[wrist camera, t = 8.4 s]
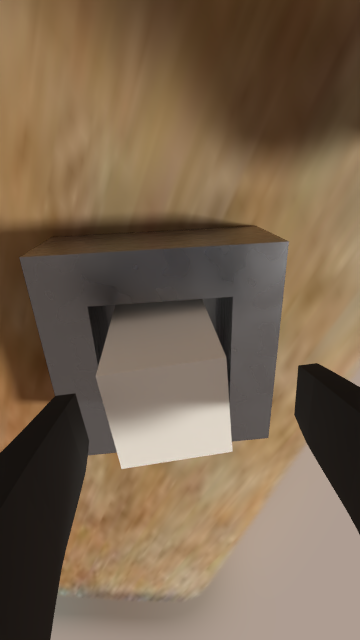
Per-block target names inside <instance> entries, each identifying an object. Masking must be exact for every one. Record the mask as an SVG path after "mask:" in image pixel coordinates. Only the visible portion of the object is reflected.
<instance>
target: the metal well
mask: <svg viewBox="0 0 360 640" xmlns="http://www.w3.org/2000/svg"><path fill="white" fill-rule="evenodd" d="M288 244H289V241H287V240H285V239H282V238H280V237H278V236H276V235H274V234H272V233H270V232H268V231H266V230H264V229H262V228H259V227H257V226H246V227H227V228H209V229H191V230H173V231H155V232H137V233H119V234H101V235H83V236H65V237H51V238H50V239H48V240H46V241H45V242H43V243H42V244H40V245H38V246H37V247H35V248H33V249H32V250H30V251H29V252H27V253H25V254H24V255H22V256H21V257H19V258H20V262H21V266H22V270H23V274H24V278H25V281H26V285H27V289H28V293H29V297H30V301H31V305H32V309H33V312H34V316H35V320H36V324H37V328H38V332H39V336H40V339H41V343H42V347H43V351H44V355H45V359H46V363H47V366H48V370H49V374H50V378H51V382H52V386H53V390H54V393H55V396H57V395H65V394H74V393H75V394H76V397H77V400H78V404H79V407H80V411H81V414H82V418H83V421H84V424H85V428H86V431H87V435H88V438H89V449H88V455H96V454H106V453H117V451H116V447H115V444H114V440H113V436H112V433H111V429H110V426H109V422H108V419H107V415H106V412H105V408H104V405H103V401H102V398H101V394H100V390H99V387H98V383H97V380H96V373H97V370H98V366H99V362H100V359H101V355H102V351H103V348H104V344H105V340H106V337H107V333H108V330H109V326H110V322H111V319H112V315H113V311H114V308H115V305H120V304H134V303H149V302H163V301H178V300H193V299H202V300H203V302H204V305H205V307H206V310H207V312H208V314H209V317H210V319H211V322H212V324H213V327H214V329H215V331H216V334H217V336H218V339H219V341H220V343H221V346H222V348H223V351H224V353H225V355H226V361H227V376H228V392H229V407H230V422H231V438H232V441H241V440H252V439H262V438H268V435H269V426H270V416H271V407H272V397H273V388H274V378H275V368H276V359H277V349H278V340H279V330H280V321H281V311H282V302H283V292H284V282H285V273H286V263H287V254H288Z"/></svg>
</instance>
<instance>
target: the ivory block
mask: <svg viewBox="0 0 360 640" xmlns="http://www.w3.org/2000/svg"><path fill="white" fill-rule="evenodd" d="M96 380H97V383H98V387H99V390H100V394H101V398H102V401H103V405H104V408H105V412H106V415H107V419H108V422H109V426H110V429H111V433H112V436H113V440H114V444H115V447H116V451H117V454H118V458H119V461H120V465H121V468H122V469H124V468H130V467H137V466H143V465H150V464H156V463H162V462H169V461H175V460H182V459H188V458H195V457H201V456H207V455H214V454H220V453H227V452H232V438H231V422H230V407H229V392H228V376H227V361H226V355H225V353H224V351H223V348H222V346H221V343H220V341H219V339H218V336H217V334H216V331H215V329H214V327H213V324H212V322H211V319H210V317H209V314H208V312H207V310H206V307H205V305H204V302H203V300H202V299H193V300H178V301H163V302H149V303H134V304H120V305H115V308H114V311H113V315H112V319H111V322H110V326H109V330H108V333H107V337H106V340H105V344H104V348H103V351H102V355H101V359H100V362H99V366H98V370H97V373H96Z"/></svg>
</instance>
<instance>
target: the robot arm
mask: <svg viewBox="0 0 360 640" xmlns="http://www.w3.org/2000/svg"><path fill="white" fill-rule="evenodd" d="M294 415H295V417H296V420H297V422H298V424H299V427H300V429H301V431H302V434H303V436H304V438H305V440H306V442H307V444H308V446H309V448H310V450H311V451H312V453H313V454H314V456H315V458H316V460H317V461H318V463H319V465H320V466H321V468H322V470H323V472H324V473H325V475H326V477H327V478H328V480H329V482H330V483H331V485H332V487H333V488H334V490H335V491H336V493H337V495H338V497H339V498H340V500H341V501H342V503H343V505H344V507H345V508H346V510H347V512H348V513H349V515H350V517H351V519H352V521H353V523H354V524H355V526H356V528H357V530H358V532H359V534H360V387H359V386H357V385H355V384H353V383H352V382H350V381H348V380H346V379H345V378H343V377H341V376H339V375H338V374H336V373H334V372H332V371H331V370H329V369H327V368H325V367H323V366H321V365H319V364H317V363H316V364H308V365H300V366H298V378H297V390H296V402H295V414H294ZM88 449H89V438H88V435H87V431H86V428H85V424H84V421H83V418H82V414H81V411H80V407H79V404H78V400H77V397H76V394H75V393H74V394H65V395H57V396H55V397H54V398H53V399H52V400H51V401H50V402H49V403H48V404H47V405H46V406H45V407H44V408H43V410H42V411H41V412H40V413H39V414H38V415H37V416H36V417H35V418H34V419H33V420H32V421H31V422H30V423H29V424H28V425H27V426H26V427H25V428H24V429H23V431H22V432H21V433H20V434H19V435H18V436H17V437H16V438H15V439H14V440H13V441H12V442H11V443H10V444H9V445H8V446H7V447H6V448H5V449H4V450H3V451H2V452H1V453H0V640H50V638H51V631H52V624H53V617H54V611H55V605H56V599H57V593H58V587H59V581H60V575H61V569H62V564H63V560H64V555H65V551H66V547H67V543H68V539H69V535H70V531H71V527H72V523H73V520H74V516H75V512H76V508H77V504H78V500H79V496H80V492H81V488H82V484H83V480H84V476H85V472H86V464H87V457H88Z"/></svg>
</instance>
